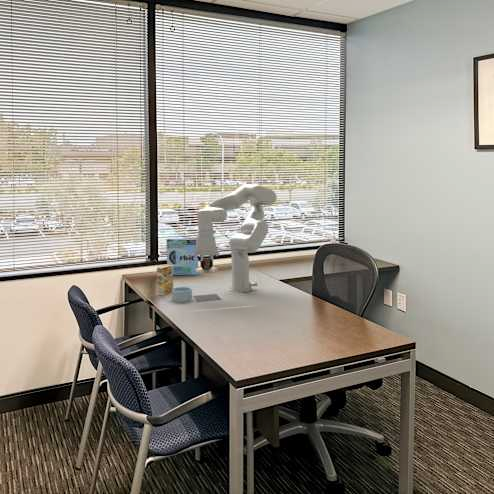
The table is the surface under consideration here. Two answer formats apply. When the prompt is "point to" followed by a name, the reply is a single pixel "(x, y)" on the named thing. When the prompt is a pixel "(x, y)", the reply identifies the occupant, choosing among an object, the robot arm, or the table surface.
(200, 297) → the rubber mat
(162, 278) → the candy box
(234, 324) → the table surface
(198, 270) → the brass cover
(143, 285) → the table surface
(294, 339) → the table surface
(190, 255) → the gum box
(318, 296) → the table surface
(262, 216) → the robot arm
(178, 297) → the ceramic bowl
